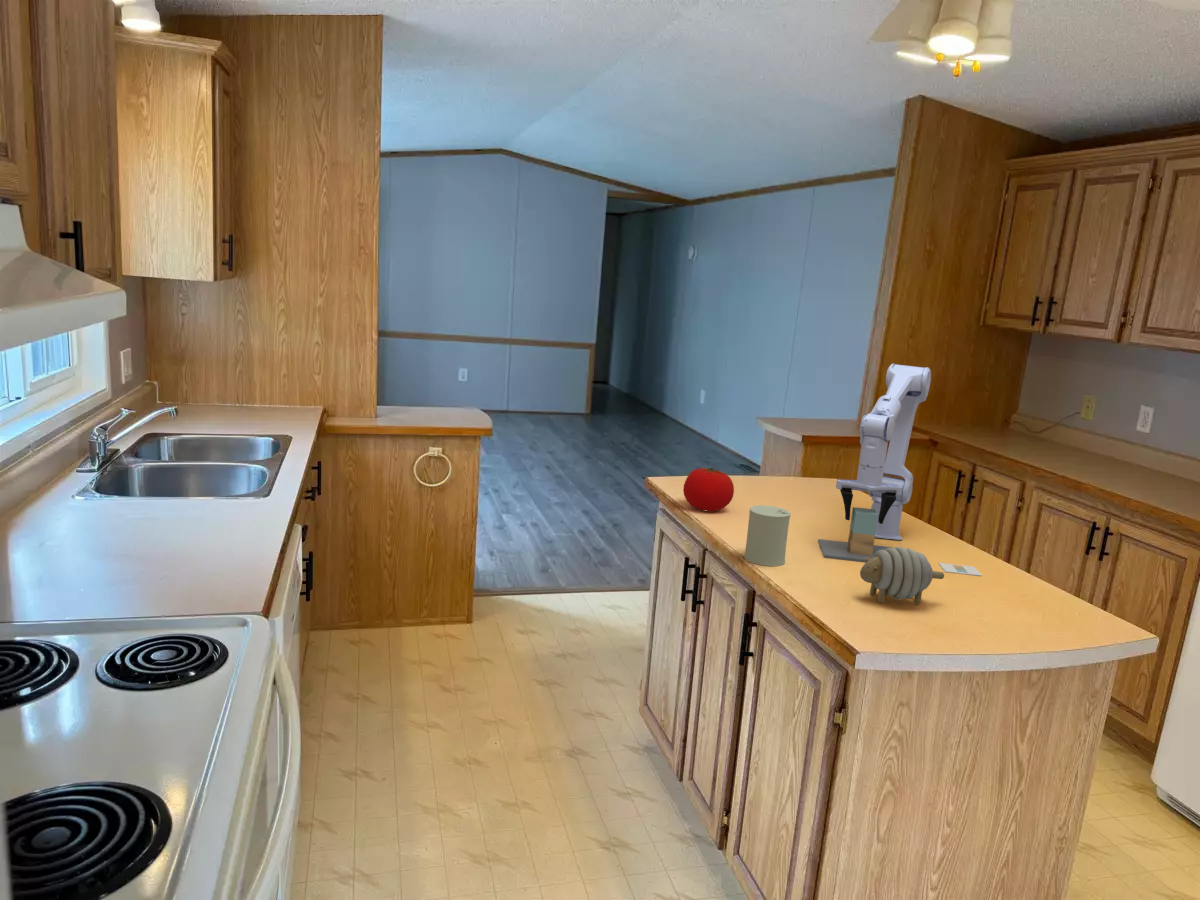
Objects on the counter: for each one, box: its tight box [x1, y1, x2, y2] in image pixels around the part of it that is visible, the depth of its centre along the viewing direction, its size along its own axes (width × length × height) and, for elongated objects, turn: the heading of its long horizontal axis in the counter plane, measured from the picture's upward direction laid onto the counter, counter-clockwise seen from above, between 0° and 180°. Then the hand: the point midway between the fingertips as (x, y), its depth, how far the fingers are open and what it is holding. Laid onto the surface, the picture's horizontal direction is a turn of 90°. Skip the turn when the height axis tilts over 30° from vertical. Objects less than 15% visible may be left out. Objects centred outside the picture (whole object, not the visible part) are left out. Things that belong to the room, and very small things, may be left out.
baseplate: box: [817, 538, 894, 563], centre depth 199 cm, size 13×18×1 cm
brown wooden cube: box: [847, 527, 876, 556], centre depth 198 cm, size 5×5×5 cm
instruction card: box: [938, 562, 983, 577], centre depth 192 cm, size 6×8×1 cm
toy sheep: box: [859, 546, 945, 606], centre depth 169 cm, size 11×17×11 cm, turn 96°
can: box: [743, 504, 791, 567], centre depth 188 cm, size 9×9×12 cm
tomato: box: [682, 467, 735, 512], centre depth 228 cm, size 13×14×12 cm
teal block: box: [849, 506, 878, 535], centre depth 197 cm, size 5×5×5 cm
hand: (863, 520), depth 198 cm, fingers open, 7 cm apart
